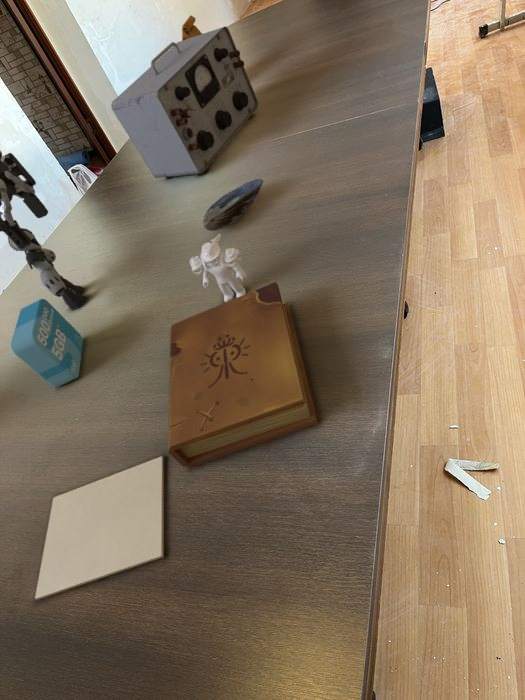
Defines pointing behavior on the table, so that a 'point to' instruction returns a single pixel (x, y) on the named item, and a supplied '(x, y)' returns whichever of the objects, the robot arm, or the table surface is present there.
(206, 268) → the hat wearing toy figure
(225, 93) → the vintage electronic device
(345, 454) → the table surface
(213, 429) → the diary
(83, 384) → the table surface
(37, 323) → the data package
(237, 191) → the seashell
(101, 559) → the mat
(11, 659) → the table surface
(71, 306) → the robot
